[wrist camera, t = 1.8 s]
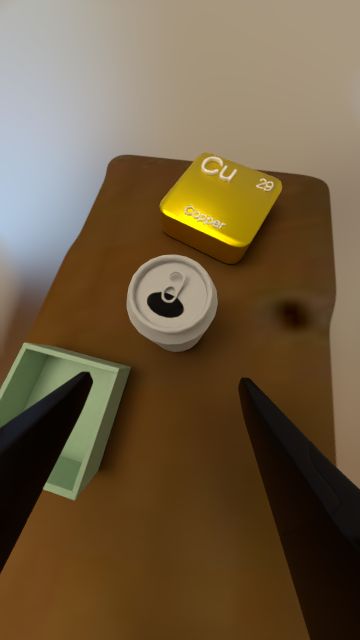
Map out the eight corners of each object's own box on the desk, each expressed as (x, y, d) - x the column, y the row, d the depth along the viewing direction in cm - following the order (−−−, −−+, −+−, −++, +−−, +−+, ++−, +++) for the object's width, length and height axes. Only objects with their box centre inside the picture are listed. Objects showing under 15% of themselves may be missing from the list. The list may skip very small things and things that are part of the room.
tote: (98, 471, 18) (74, 501, 14) (8, 440, 19) (-37, 461, 15) (131, 367, 21) (119, 368, 17) (51, 345, 22) (24, 342, 18)
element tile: (158, 231, 27) (152, 204, 22) (200, 178, 30) (203, 145, 26) (235, 269, 25) (247, 248, 20) (271, 207, 28) (289, 176, 23)
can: (142, 339, 22) (97, 314, 10) (165, 295, 24) (147, 232, 12) (190, 361, 21) (198, 361, 10) (210, 313, 23) (237, 265, 11)
